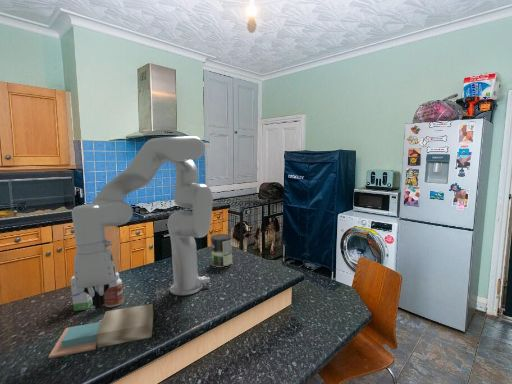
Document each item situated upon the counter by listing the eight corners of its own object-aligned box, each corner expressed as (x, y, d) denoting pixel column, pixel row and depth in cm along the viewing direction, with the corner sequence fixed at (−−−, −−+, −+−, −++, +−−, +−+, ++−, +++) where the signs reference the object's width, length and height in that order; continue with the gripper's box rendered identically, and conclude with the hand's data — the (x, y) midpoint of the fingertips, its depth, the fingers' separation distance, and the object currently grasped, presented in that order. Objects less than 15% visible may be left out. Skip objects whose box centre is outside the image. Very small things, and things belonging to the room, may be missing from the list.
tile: (103, 327, 88) (103, 321, 88) (99, 340, 81) (98, 334, 81) (70, 334, 85) (69, 327, 85) (62, 348, 79) (61, 341, 79)
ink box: (88, 309, 101) (85, 277, 100) (72, 311, 100) (69, 278, 99) (97, 298, 109) (94, 268, 108) (83, 300, 109) (80, 270, 107)
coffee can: (212, 269, 137) (211, 240, 136) (210, 262, 147) (209, 235, 146) (234, 266, 139) (233, 238, 138) (230, 259, 149) (229, 233, 148)
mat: (105, 322, 92) (105, 321, 92) (95, 349, 79) (95, 347, 79) (66, 329, 89) (65, 327, 89) (48, 358, 75) (48, 356, 75)
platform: (153, 315, 96) (152, 303, 95) (151, 337, 84) (150, 324, 83) (106, 323, 92) (105, 311, 91) (97, 347, 79) (96, 333, 79)
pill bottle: (121, 306, 103) (119, 276, 102) (102, 309, 101) (99, 278, 100) (125, 298, 109) (122, 270, 108) (107, 300, 107) (105, 272, 106)
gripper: (121, 240, 89) (128, 296, 91) (66, 247, 84) (74, 306, 87) (118, 247, 81) (125, 308, 84) (57, 255, 77) (66, 319, 79)
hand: (99, 306), depth 85 cm, fingers closed
